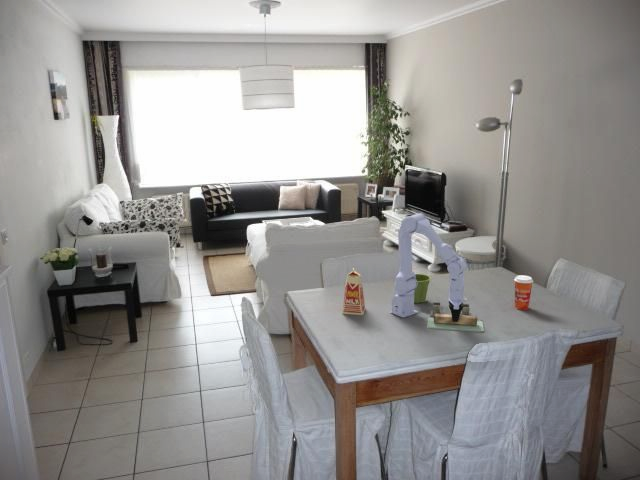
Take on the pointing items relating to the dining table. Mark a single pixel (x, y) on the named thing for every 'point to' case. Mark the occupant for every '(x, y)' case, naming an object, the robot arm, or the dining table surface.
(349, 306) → the milk carton
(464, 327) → the mat
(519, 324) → the dining table surface
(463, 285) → the robot arm
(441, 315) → the rail
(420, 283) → the plant pot
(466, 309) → the standards
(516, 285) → the paper cup
